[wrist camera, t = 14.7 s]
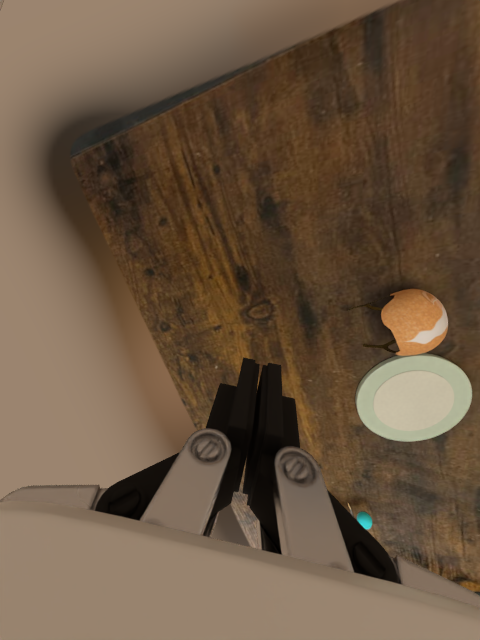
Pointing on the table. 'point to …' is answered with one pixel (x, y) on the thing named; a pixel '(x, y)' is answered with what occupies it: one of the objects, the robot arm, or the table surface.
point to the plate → (413, 397)
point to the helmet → (413, 321)
